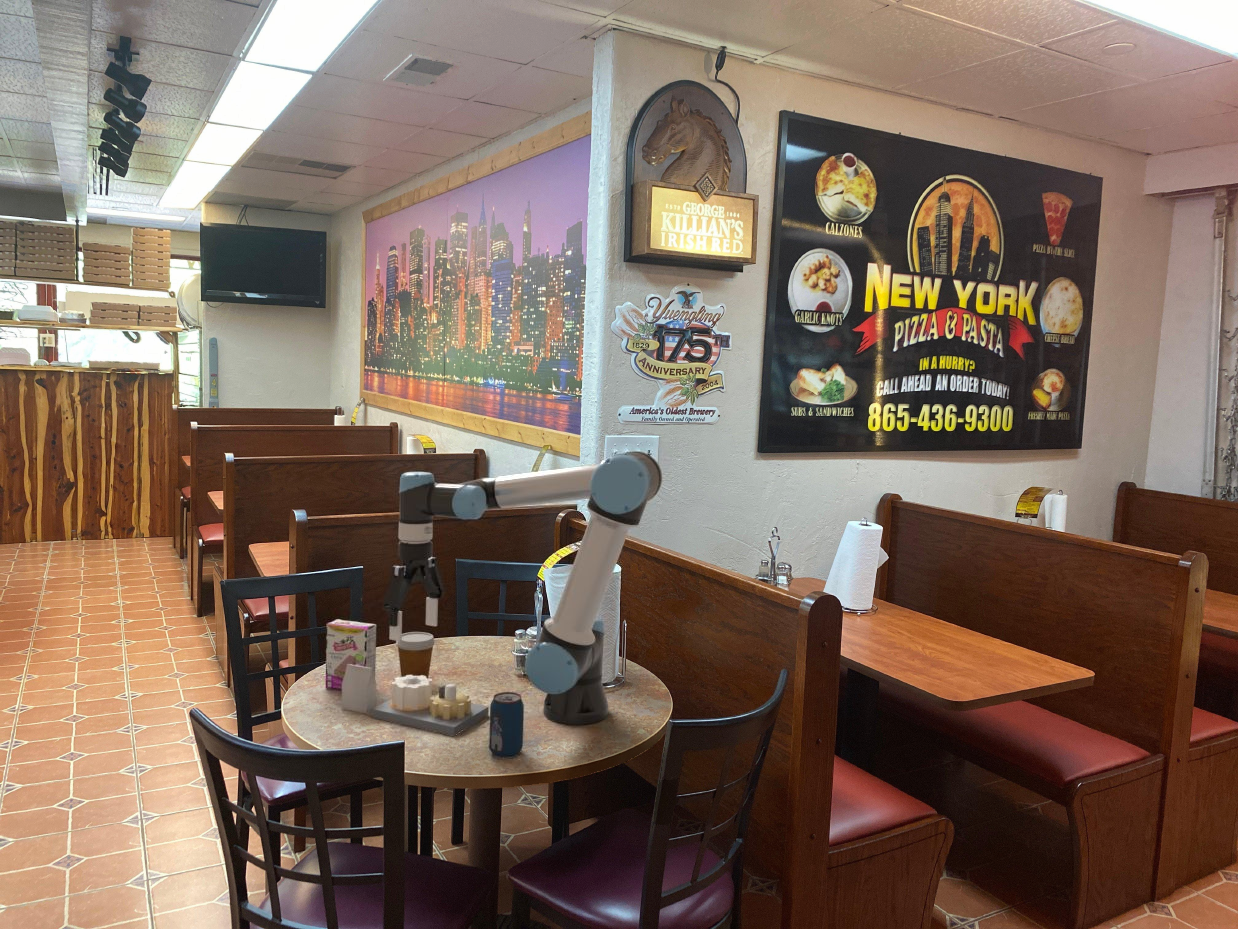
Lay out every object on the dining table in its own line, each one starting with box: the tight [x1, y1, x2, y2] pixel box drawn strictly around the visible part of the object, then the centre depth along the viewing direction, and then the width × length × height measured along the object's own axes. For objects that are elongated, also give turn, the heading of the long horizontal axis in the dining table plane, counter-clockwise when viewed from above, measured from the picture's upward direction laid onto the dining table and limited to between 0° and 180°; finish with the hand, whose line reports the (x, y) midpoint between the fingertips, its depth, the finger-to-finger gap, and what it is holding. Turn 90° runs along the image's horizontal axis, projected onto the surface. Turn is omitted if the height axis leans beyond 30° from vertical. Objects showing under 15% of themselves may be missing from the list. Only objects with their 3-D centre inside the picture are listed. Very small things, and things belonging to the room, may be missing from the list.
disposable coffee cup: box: [395, 631, 436, 679], centre depth 221 cm, size 10×10×12 cm
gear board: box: [370, 676, 490, 737], centre depth 200 cm, size 22×14×8 cm, turn 67°
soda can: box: [488, 691, 525, 760], centre depth 182 cm, size 7×7×12 cm
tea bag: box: [341, 664, 377, 714], centre depth 203 cm, size 4×7×10 cm, turn 70°
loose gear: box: [390, 675, 433, 710], centre depth 202 cm, size 9×9×5 cm
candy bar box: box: [325, 618, 377, 692], centre depth 215 cm, size 11×5×16 cm, turn 76°
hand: (414, 632), depth 201 cm, fingers open, 13 cm apart
